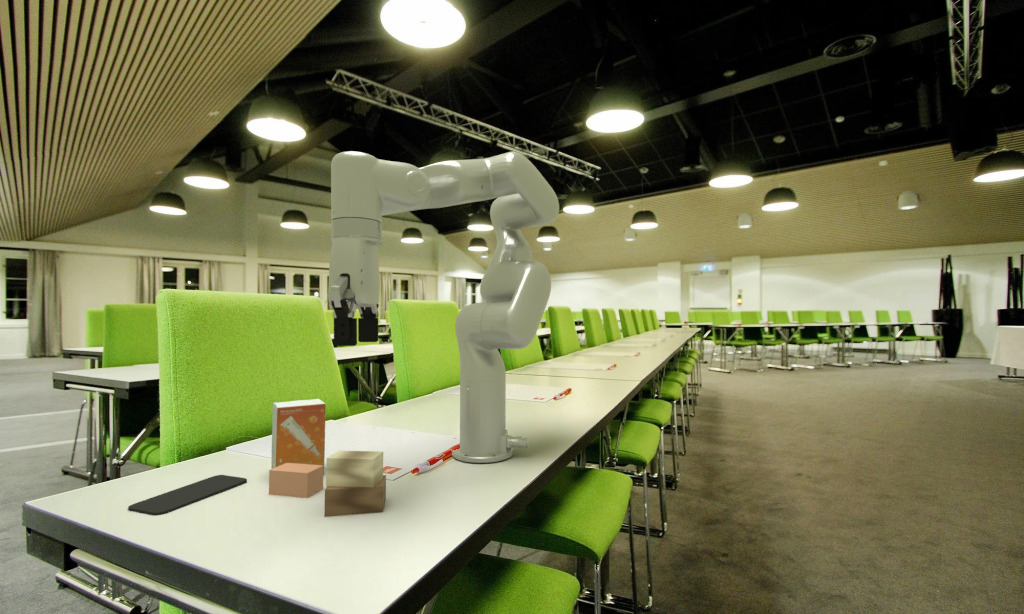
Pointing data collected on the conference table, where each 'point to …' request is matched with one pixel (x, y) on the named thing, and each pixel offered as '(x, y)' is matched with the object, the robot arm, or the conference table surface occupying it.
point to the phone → (187, 495)
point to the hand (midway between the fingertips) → (357, 343)
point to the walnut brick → (355, 499)
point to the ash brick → (354, 468)
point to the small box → (298, 432)
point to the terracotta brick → (296, 480)
